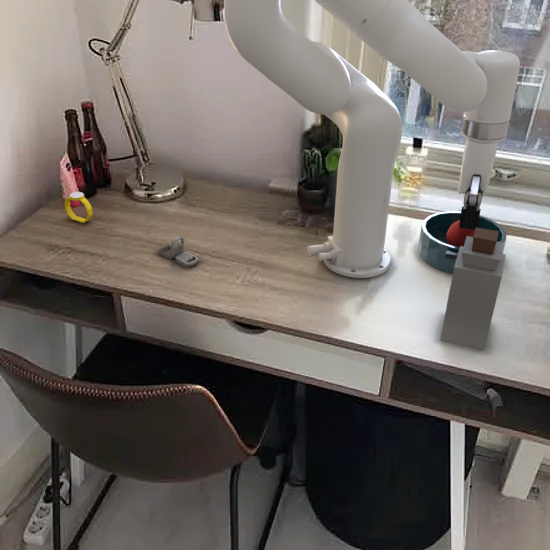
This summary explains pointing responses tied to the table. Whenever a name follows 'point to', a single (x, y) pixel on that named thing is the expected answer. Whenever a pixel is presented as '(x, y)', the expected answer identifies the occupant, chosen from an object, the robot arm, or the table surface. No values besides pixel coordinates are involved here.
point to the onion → (458, 235)
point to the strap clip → (179, 253)
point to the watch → (80, 196)
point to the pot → (436, 242)
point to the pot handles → (452, 252)
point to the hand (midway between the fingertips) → (469, 216)
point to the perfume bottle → (474, 290)
